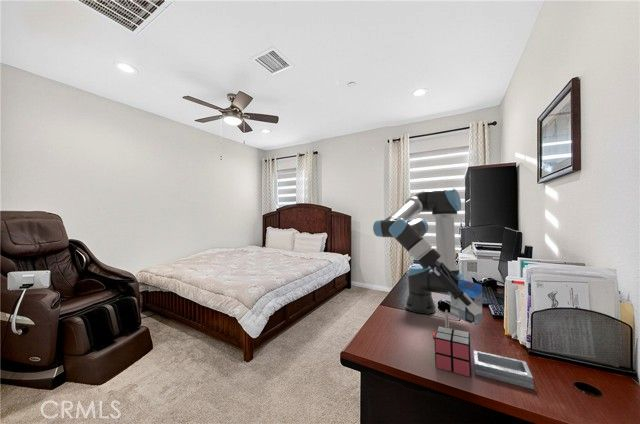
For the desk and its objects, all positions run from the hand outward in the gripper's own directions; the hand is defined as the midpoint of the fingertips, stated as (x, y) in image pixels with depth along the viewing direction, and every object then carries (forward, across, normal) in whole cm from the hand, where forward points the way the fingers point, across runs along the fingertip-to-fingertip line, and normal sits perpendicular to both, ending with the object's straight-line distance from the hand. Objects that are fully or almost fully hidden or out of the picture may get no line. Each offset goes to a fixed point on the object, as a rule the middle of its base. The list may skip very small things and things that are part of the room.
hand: (478, 308), depth 77 cm
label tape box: (+1, 0, -6) cm, 6 cm away
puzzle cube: (+9, 0, -19) cm, 22 cm away
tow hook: (+6, -18, -23) cm, 30 cm away
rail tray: (+18, -3, -10) cm, 21 cm away
